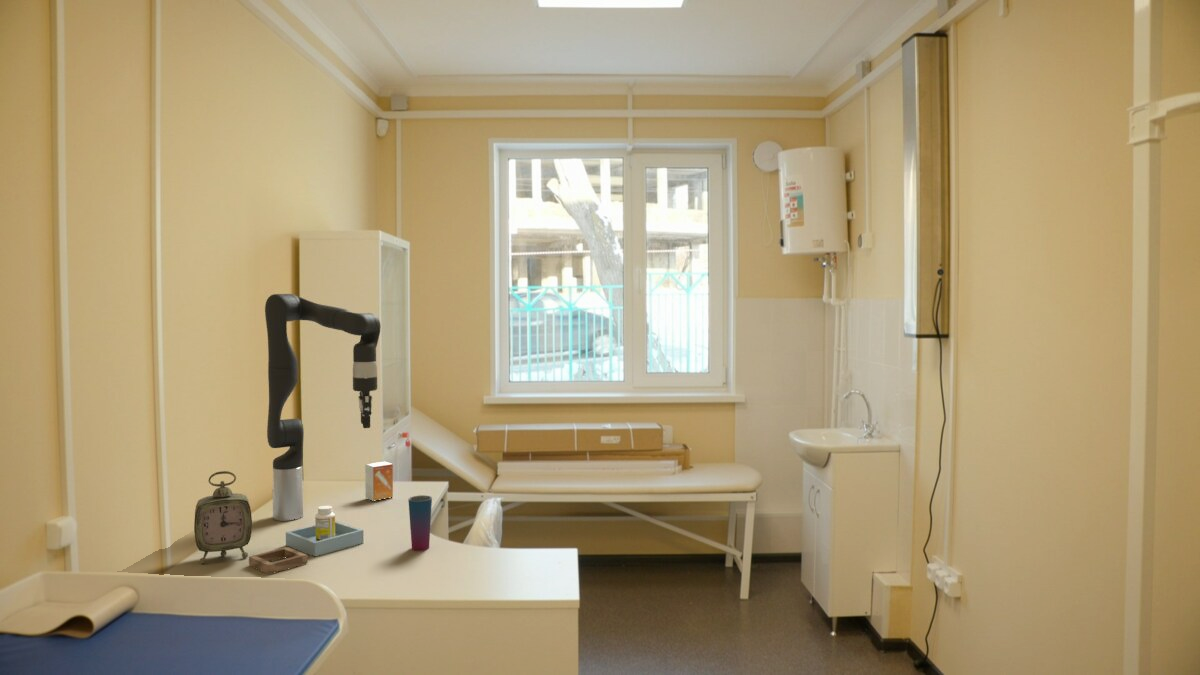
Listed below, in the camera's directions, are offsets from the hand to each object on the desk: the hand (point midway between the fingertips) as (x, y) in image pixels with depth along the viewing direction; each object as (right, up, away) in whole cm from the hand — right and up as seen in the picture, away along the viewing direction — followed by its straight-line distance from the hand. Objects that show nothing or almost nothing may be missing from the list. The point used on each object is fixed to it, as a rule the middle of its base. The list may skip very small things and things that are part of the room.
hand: (365, 425), depth 246 cm
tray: (-7, -34, -15) cm, 38 cm away
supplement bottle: (-7, -33, -15) cm, 37 cm away
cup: (+22, -34, -19) cm, 45 cm away
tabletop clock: (-32, -35, -28) cm, 55 cm away
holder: (-14, -35, -33) cm, 50 cm away
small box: (-6, -32, +37) cm, 49 cm away
